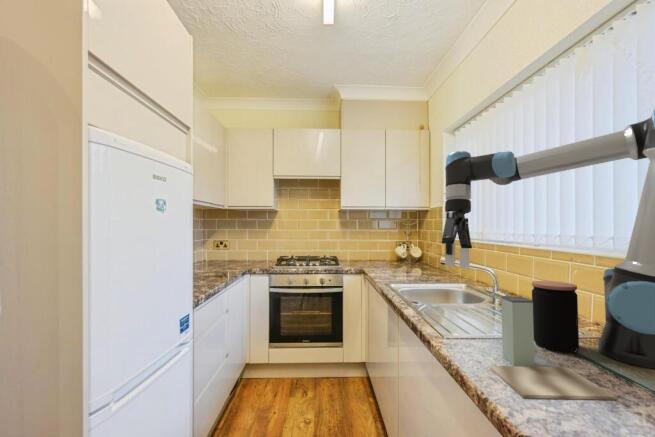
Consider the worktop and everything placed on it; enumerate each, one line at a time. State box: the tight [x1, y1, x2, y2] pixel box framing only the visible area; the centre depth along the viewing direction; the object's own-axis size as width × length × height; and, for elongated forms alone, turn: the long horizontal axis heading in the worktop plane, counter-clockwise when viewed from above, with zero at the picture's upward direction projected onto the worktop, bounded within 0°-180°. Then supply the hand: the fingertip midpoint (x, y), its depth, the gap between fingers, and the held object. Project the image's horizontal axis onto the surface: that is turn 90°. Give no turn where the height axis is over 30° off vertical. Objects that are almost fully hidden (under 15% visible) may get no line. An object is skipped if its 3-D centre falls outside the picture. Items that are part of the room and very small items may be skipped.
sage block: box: [500, 295, 535, 367], centre depth 77 cm, size 5×5×16 cm
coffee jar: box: [531, 280, 580, 354], centre depth 88 cm, size 11×11×18 cm
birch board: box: [489, 365, 617, 401], centre depth 67 cm, size 18×13×1 cm
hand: (457, 267), depth 93 cm, fingers open, 13 cm apart
